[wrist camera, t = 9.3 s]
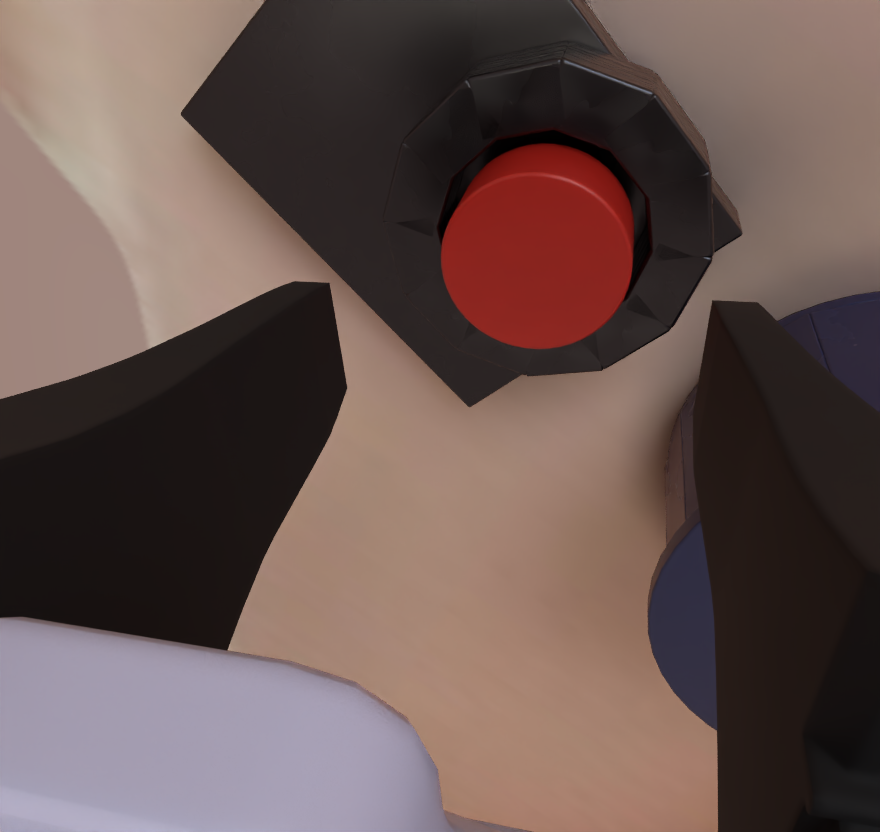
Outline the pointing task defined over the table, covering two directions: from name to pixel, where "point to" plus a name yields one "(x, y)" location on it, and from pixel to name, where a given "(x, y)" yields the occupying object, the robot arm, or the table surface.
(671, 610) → the lid
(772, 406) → the robot arm
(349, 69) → the control block
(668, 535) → the pot
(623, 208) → the button
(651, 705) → the table surface
